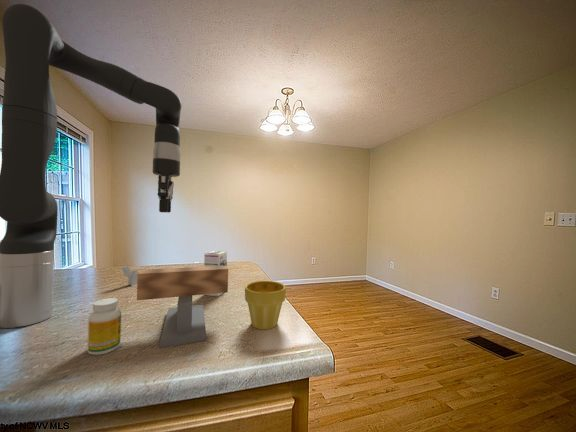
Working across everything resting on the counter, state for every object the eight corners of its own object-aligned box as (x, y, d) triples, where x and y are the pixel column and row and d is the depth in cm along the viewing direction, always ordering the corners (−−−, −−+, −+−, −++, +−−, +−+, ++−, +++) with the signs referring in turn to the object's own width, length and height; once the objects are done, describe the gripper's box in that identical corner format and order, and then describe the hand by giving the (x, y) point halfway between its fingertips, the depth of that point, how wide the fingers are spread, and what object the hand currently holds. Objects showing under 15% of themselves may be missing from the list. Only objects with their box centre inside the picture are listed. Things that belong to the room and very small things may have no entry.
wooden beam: (225, 287, 65) (226, 265, 65) (227, 292, 62) (228, 268, 61) (140, 294, 58) (141, 269, 58) (136, 300, 54) (137, 273, 54)
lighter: (137, 282, 94) (137, 262, 94) (140, 282, 94) (141, 262, 94) (120, 287, 87) (121, 265, 87) (124, 288, 87) (124, 266, 87)
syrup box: (219, 296, 81) (220, 253, 81) (203, 295, 82) (204, 252, 82) (226, 291, 87) (227, 251, 87) (211, 290, 88) (212, 250, 88)
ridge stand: (159, 347, 50) (160, 309, 50) (168, 313, 67) (169, 284, 67) (205, 340, 53) (206, 304, 53) (202, 309, 70) (203, 282, 70)
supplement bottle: (85, 348, 49) (86, 300, 49) (117, 338, 53) (118, 295, 53) (89, 359, 45) (91, 308, 45) (123, 348, 49) (124, 301, 49)
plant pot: (268, 338, 55) (269, 295, 55) (235, 325, 61) (236, 286, 60) (292, 321, 64) (293, 285, 64) (261, 312, 69) (262, 278, 69)
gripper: (178, 156, 69) (176, 212, 69) (181, 165, 82) (180, 212, 82) (148, 153, 66) (146, 212, 66) (156, 162, 80) (155, 212, 80)
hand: (165, 212), depth 74 cm, fingers open, 8 cm apart
